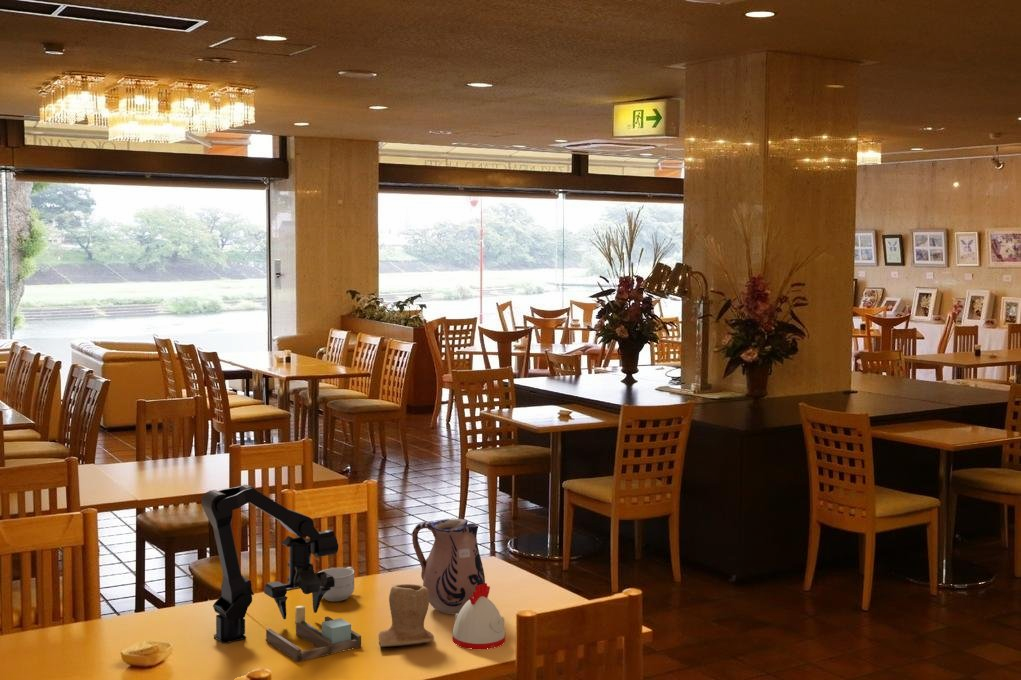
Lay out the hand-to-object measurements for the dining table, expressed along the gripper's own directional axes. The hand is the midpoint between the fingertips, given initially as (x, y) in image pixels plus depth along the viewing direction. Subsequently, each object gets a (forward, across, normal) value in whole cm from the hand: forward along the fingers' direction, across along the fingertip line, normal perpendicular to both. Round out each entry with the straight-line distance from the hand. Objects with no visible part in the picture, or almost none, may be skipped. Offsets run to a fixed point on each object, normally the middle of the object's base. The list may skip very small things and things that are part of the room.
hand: (299, 615), depth 304 cm
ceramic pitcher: (+2, +40, -13) cm, 42 cm away
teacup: (+2, +20, +14) cm, 24 cm away
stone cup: (+2, +16, -28) cm, 32 cm away
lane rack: (+2, -4, -16) cm, 17 cm away
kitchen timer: (+2, +33, -38) cm, 50 cm away
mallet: (+2, 0, -11) cm, 11 cm away
